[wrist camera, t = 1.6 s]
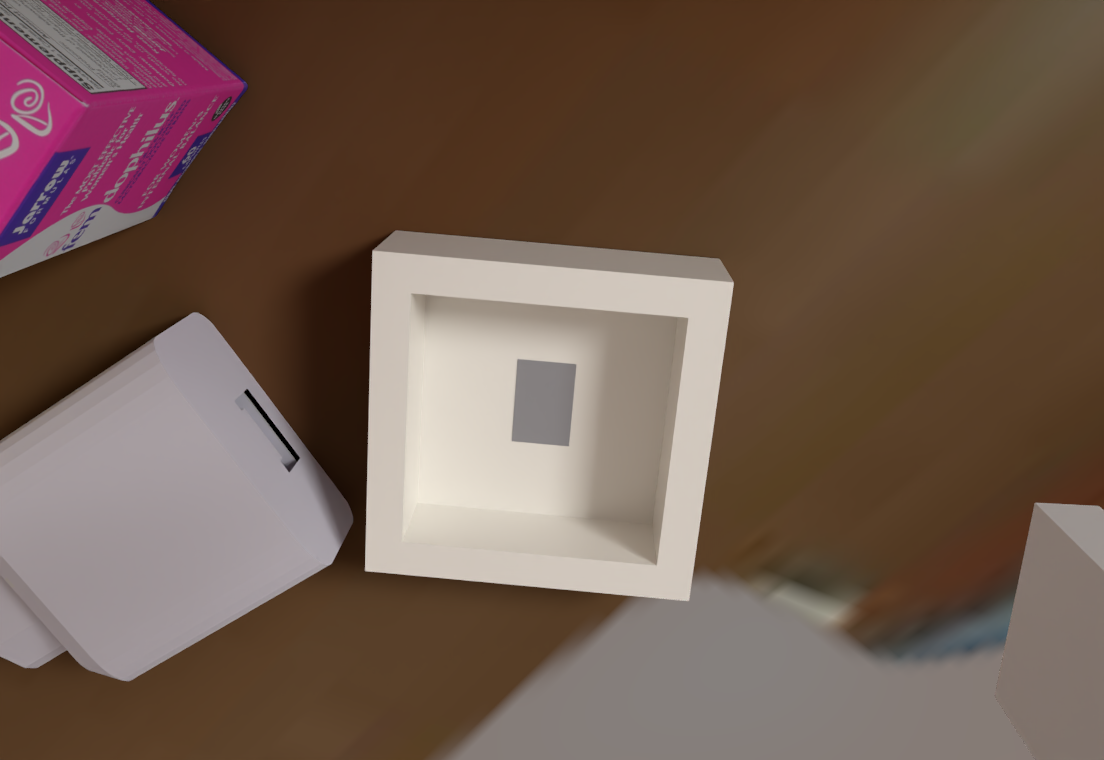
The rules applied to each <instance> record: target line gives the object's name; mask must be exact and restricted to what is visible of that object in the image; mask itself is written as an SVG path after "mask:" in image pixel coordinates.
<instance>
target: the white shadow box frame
mask: <svg viewBox="0 0 1104 760" xmlns="http://www.w3.org/2000/svg"><path fill="white" fill-rule="evenodd" d="M733 285H734V282H733V280H732V279H731V277H730V275H729V274H728V272H727V270H726V269H725V267H724V265H723V264H722V262H721V261H720V259H716V258H705V257H694V256H682V255H671V254H659V253H648V252H636V251H625V250H614V249H602V248H591V247H579V246H568V245H556V244H545V243H534V242H522V241H511V240H499V239H488V238H476V237H465V236H454V235H442V234H431V233H419V232H408V231H394V232H393V233H392V234H391V235H390V236H389V237H388V238H386V239H385V240H384V241H383V242H382V243H381V244H380V245H378V246H377V247H376V248H375V249H374V250H373V251H372V291H371V335H370V378H369V421H368V464H367V507H366V550H365V571H370V572H381V573H392V574H403V575H413V576H424V577H435V578H446V579H457V580H467V581H478V582H489V583H500V584H510V585H521V586H532V587H543V588H553V589H564V590H575V591H586V592H597V593H607V594H618V595H629V596H640V597H650V598H661V599H672V600H683V601H689V597H690V590H691V583H692V575H693V568H694V561H695V554H696V547H697V540H698V533H699V526H700V519H701V512H702V505H703V497H704V490H705V483H706V476H707V469H708V462H709V455H710V448H711V441H712V434H713V427H714V420H715V412H716V405H717V398H718V391H719V384H720V377H721V370H722V363H723V356H724V349H725V342H726V334H727V327H728V320H729V313H730V306H731V299H732V292H733Z"/></svg>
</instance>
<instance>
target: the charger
mask: <svg viewBox="0 0 1104 760" xmlns="http://www.w3.org/2000/svg"><path fill="white" fill-rule="evenodd" d="M246 389H248V390H249V391H250V393H251V394H252V395H253V397H254V398H255V399H256V401H257V402H258V403H259V404H260V406H261V407H262V408H263V410H264V411H265V412H266V414H267V415H268V416H269V418H270V419H271V420H272V422H273V423H274V424H275V425H276V427H277V428H278V429H279V431H280V432H281V433H282V435H283V436H284V437H285V439H286V440H287V441H288V443H289V444H290V445H291V447H292V448H293V449H294V450H295V452H296V453H297V454H298V456H299V457H300V459H299V460H298V462H297V461H296V460H295V458H294V457H293V456H292V454H291V453H290V452H289V450H288V449H287V448H286V447H285V445H284V444H283V443H282V441H281V440H280V439H279V437H278V436H277V435H276V433H275V432H274V431H273V429H272V428H271V427H270V426H269V424H268V423H267V422H266V420H265V419H264V418H263V416H262V415H261V414H260V412H259V411H258V410H257V409H256V407H255V406H254V405H253V403H252V402H251V401H250V399H249V398H248V397H247V395H246V394H245V393H244V391H245V390H246ZM352 524H353V515H352V512H351V509H350V507H349V505H348V502H347V501H346V500H345V498H344V497H343V496H342V494H341V493H340V492H339V490H338V489H337V488H336V486H335V485H334V484H333V482H332V481H331V480H330V478H329V477H328V476H327V474H326V473H325V472H324V470H323V469H322V468H321V466H320V465H319V464H318V462H317V461H316V460H315V458H314V457H313V456H312V454H311V453H310V452H309V450H308V449H307V448H306V446H305V445H304V444H303V442H302V441H301V440H300V438H299V437H298V436H297V434H296V433H295V432H294V431H293V429H292V428H291V427H290V425H289V424H288V423H287V421H286V420H285V419H284V417H283V416H282V415H281V413H280V412H279V411H278V409H277V408H276V407H275V405H274V404H273V403H272V401H271V400H270V399H269V397H268V396H267V395H266V393H265V392H264V391H263V389H262V388H261V387H260V386H259V384H258V383H257V382H256V380H255V379H254V378H253V376H252V375H251V374H250V372H249V371H248V370H247V368H246V367H245V366H244V364H243V363H242V362H241V360H240V359H239V358H238V356H237V355H236V354H235V352H234V351H233V350H232V348H231V347H230V346H229V345H228V343H227V342H226V341H225V339H224V338H223V337H222V335H221V334H220V333H219V332H218V330H217V329H216V328H215V326H214V325H213V324H212V323H211V322H210V321H209V320H208V319H207V318H206V317H204V316H203V315H201V314H199V313H192V314H190V315H189V316H187V317H185V318H184V319H182V320H181V321H179V322H178V323H176V324H175V325H173V326H171V327H170V328H168V329H167V330H165V331H164V332H162V333H160V334H159V335H157V336H156V337H154V338H153V339H151V340H150V341H148V342H147V343H145V344H144V345H142V346H141V347H139V348H138V349H136V350H135V351H133V352H132V353H130V354H129V355H127V356H126V357H124V358H123V359H121V360H120V361H118V362H117V363H115V364H114V365H112V366H111V367H109V368H108V369H106V370H105V371H103V372H102V373H100V374H99V375H98V376H96V377H95V378H93V379H92V380H90V381H89V382H87V383H86V384H84V385H83V386H81V387H80V388H78V389H77V390H75V391H74V392H72V393H71V394H69V395H68V396H66V397H65V398H63V399H62V400H60V401H59V402H57V403H56V404H54V405H53V406H51V407H50V408H48V409H47V410H45V411H44V412H42V413H41V414H39V415H38V416H36V417H35V418H33V419H32V420H30V421H29V422H27V423H26V424H24V425H23V426H21V427H20V428H18V429H17V430H15V431H14V432H12V433H11V434H9V435H8V436H6V437H5V438H3V439H2V440H0V656H1V657H3V658H5V659H7V660H9V661H11V662H13V663H15V664H18V665H20V666H22V667H24V668H38V667H40V666H41V665H43V664H45V663H46V662H48V661H50V660H51V659H53V658H55V657H56V656H58V655H60V654H61V653H63V652H65V651H66V650H67V651H68V652H69V653H70V654H71V655H72V656H73V657H74V659H75V660H76V661H77V662H78V663H79V664H80V665H82V666H83V667H84V668H86V669H88V670H90V671H93V672H96V673H99V674H103V675H106V676H109V677H112V678H116V679H119V680H123V681H130V680H132V679H134V678H136V677H137V676H139V675H141V674H143V673H144V672H146V671H148V670H149V669H151V668H153V667H155V666H156V665H158V664H160V663H162V662H163V661H165V660H167V659H168V658H170V657H172V656H174V655H175V654H177V653H179V652H180V651H182V650H184V649H186V648H187V647H189V646H191V645H193V644H194V643H196V642H198V641H199V640H201V639H203V638H205V637H206V636H208V635H210V634H211V633H213V632H215V631H217V630H218V629H220V628H222V627H224V626H225V625H227V624H229V623H230V622H232V621H234V620H236V619H237V618H239V617H241V616H242V615H244V614H246V613H248V612H249V611H251V610H253V609H255V608H256V607H258V606H260V605H261V604H263V603H265V602H267V601H268V600H270V599H272V598H273V597H275V596H277V595H279V594H280V593H282V592H284V591H286V590H287V589H289V588H291V587H292V586H294V585H296V584H298V583H299V582H301V581H303V580H304V579H306V578H308V577H310V576H311V575H313V574H315V573H317V572H318V571H320V570H322V569H323V568H325V567H327V566H329V565H330V564H332V562H333V560H334V558H335V556H336V555H337V553H338V551H339V549H340V547H341V545H342V543H343V541H344V539H345V537H346V535H347V533H348V531H349V529H350V528H351V526H352Z"/></svg>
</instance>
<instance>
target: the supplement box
mask: <svg viewBox="0 0 1104 760" xmlns="http://www.w3.org/2000/svg"><path fill="white" fill-rule="evenodd" d="M247 87H248V85H247V83H246V82H245V81H244V80H243V79H241V78H240V77H239V76H238V75H237V74H236V73H234V72H233V71H232V70H230V69H229V68H228V67H227V66H226V65H225V64H224V63H222V62H221V61H220V60H219V59H218V58H216V57H215V56H214V55H213V54H212V53H210V52H209V51H208V50H207V49H206V48H205V47H203V46H202V45H201V44H200V43H199V42H198V41H196V40H195V39H194V38H193V37H192V36H190V35H189V34H188V33H187V32H186V31H185V30H183V29H182V28H181V27H180V26H179V25H177V24H176V23H175V22H174V21H173V20H171V19H170V18H169V17H168V16H167V15H166V14H164V13H163V12H162V11H161V10H160V9H158V8H157V7H156V6H155V5H154V4H152V3H151V2H150V1H149V0H0V278H1V277H3V276H6V275H8V274H11V273H14V272H16V271H19V270H21V269H24V268H26V267H29V266H32V265H34V264H36V263H39V262H42V261H44V260H47V259H49V258H52V257H54V256H57V255H60V254H62V253H65V252H68V251H70V250H72V249H75V248H78V247H80V246H83V245H86V244H88V243H90V242H93V241H95V240H98V239H101V238H103V237H106V236H108V235H111V234H113V233H116V232H119V231H121V230H124V229H127V228H129V227H131V226H134V225H136V224H139V223H142V222H144V221H146V220H149V219H151V218H153V217H155V216H156V215H157V214H158V212H159V211H160V209H161V208H162V206H163V205H164V203H165V202H166V200H167V198H168V197H169V195H170V193H171V192H172V190H173V188H174V187H175V185H176V184H177V182H178V181H179V179H180V178H181V177H182V175H183V174H184V172H185V171H186V169H187V168H188V167H189V165H190V164H191V163H192V161H193V160H194V159H195V157H196V156H197V154H198V153H199V152H200V150H201V149H202V148H203V146H204V145H205V143H206V142H207V141H208V139H209V138H210V136H211V135H212V134H213V132H214V131H215V130H216V128H217V127H218V126H219V124H220V123H221V122H222V120H223V119H224V117H225V116H226V115H227V113H228V112H229V111H230V110H231V109H232V108H233V106H234V105H235V104H236V103H237V102H238V100H239V99H240V97H241V96H242V95H243V94H244V92H245V91H246V90H247Z"/></svg>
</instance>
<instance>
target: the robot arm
mask: <svg viewBox="0 0 1104 760" xmlns="http://www.w3.org/2000/svg"><path fill="white" fill-rule="evenodd" d="M995 698H996V700H997V701H998V703H999V704H1000V706H1001V707H1002V709H1003V710H1004V712H1005V714H1006V715H1007V717H1008V718H1009V720H1010V721H1011V723H1012V725H1013V726H1014V728H1015V729H1016V731H1017V732H1018V734H1019V735H1020V737H1021V739H1022V740H1023V742H1024V743H1025V745H1026V747H1027V748H1028V750H1029V751H1030V753H1031V754H1032V756H1033V758H1034V759H1035V760H1104V510H1103V509H1102V508H1100V507H1099V506H1088V505H1069V504H1049V503H1035V505H1034V510H1033V515H1032V519H1031V524H1030V529H1029V534H1028V538H1027V543H1026V548H1025V553H1024V558H1023V562H1022V567H1021V572H1020V577H1019V581H1018V586H1017V591H1016V596H1015V601H1014V605H1013V610H1012V615H1011V620H1010V625H1009V629H1008V634H1007V639H1006V644H1005V648H1004V653H1003V658H1002V663H1001V668H1000V673H999V677H998V682H997V687H996V692H995Z"/></svg>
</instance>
